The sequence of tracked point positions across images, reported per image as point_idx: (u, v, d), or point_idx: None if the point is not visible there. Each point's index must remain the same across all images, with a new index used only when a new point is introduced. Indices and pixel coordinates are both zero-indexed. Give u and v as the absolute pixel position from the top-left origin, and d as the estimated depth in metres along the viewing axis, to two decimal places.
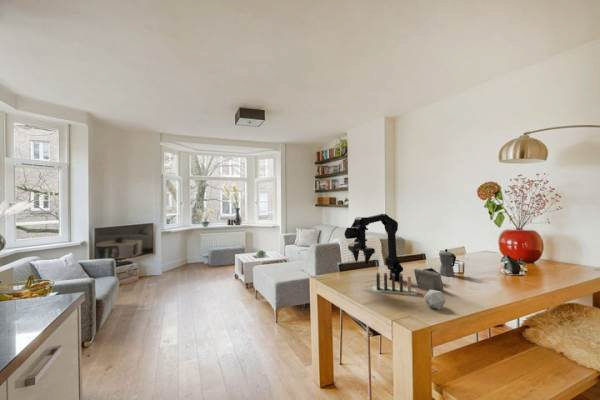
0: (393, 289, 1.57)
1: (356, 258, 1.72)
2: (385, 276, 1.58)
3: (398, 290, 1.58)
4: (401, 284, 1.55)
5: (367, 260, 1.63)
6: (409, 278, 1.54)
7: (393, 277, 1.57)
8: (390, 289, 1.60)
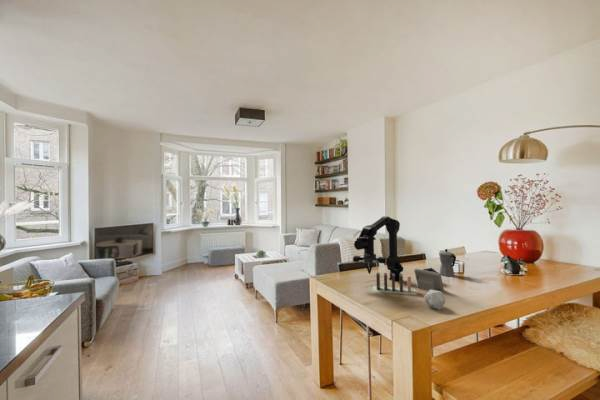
0: (393, 289, 1.57)
1: None
2: (385, 276, 1.58)
3: (398, 290, 1.58)
4: (401, 284, 1.55)
5: None
6: (409, 278, 1.54)
7: (393, 277, 1.57)
8: (390, 289, 1.60)
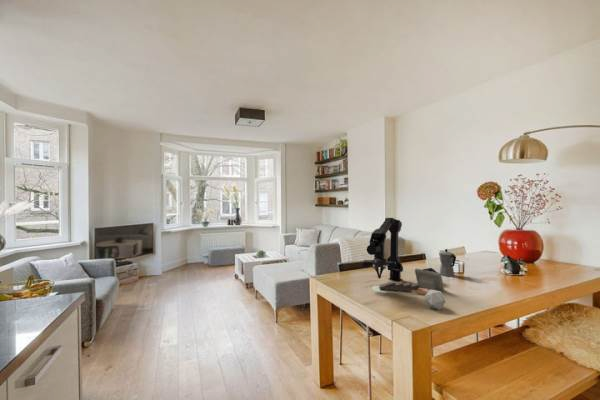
0: (397, 289, 1.56)
1: (379, 275, 1.62)
2: (401, 285, 1.55)
3: None
4: (410, 288, 1.54)
5: None
6: None
7: (409, 286, 1.54)
8: None
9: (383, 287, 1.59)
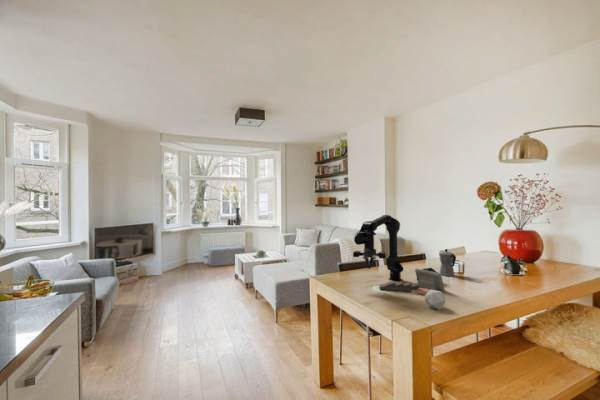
0: (397, 289, 1.56)
1: (369, 265, 1.64)
2: (401, 285, 1.55)
3: None
4: (410, 288, 1.54)
5: None
6: None
7: (409, 286, 1.54)
8: None
9: (383, 287, 1.59)
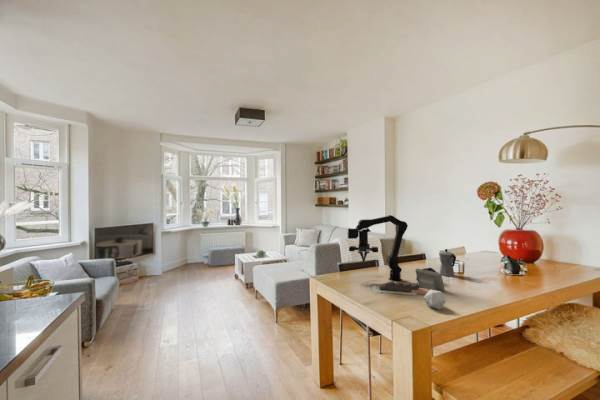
0: (397, 289, 1.56)
1: None
2: (401, 285, 1.55)
3: None
4: (410, 288, 1.54)
5: None
6: None
7: (409, 286, 1.54)
8: None
9: (383, 287, 1.59)
